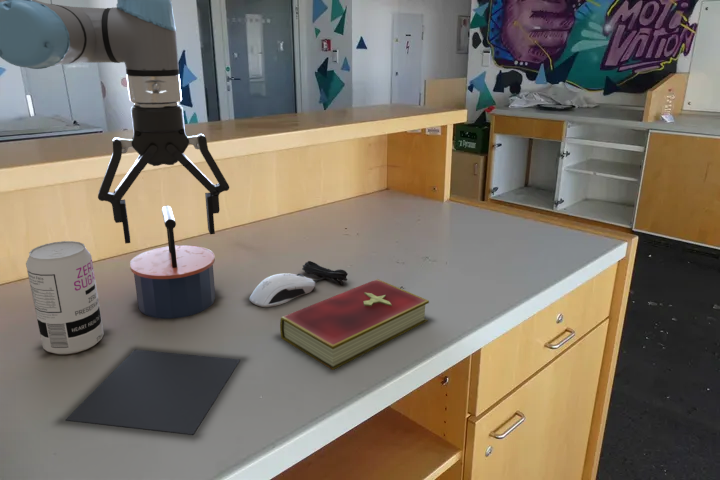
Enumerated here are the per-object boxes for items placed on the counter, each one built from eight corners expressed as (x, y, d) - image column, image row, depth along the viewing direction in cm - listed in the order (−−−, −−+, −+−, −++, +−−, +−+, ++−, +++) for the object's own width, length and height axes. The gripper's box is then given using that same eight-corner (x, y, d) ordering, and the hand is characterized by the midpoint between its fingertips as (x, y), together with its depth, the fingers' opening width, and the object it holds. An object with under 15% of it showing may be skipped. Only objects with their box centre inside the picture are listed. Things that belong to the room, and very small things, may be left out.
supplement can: (45, 335, 84) (27, 243, 79) (104, 325, 87) (90, 237, 82) (40, 362, 77) (19, 264, 72) (104, 351, 80) (89, 255, 75)
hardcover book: (280, 338, 85) (279, 314, 83) (375, 298, 99) (375, 276, 97) (332, 371, 77) (332, 345, 75) (427, 322, 91) (429, 299, 89)
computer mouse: (237, 297, 98) (236, 277, 96) (314, 270, 110) (314, 251, 109) (272, 317, 91) (271, 295, 90) (349, 285, 104) (350, 265, 102)
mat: (65, 422, 66) (65, 419, 65) (135, 351, 80) (134, 349, 80) (193, 437, 64) (193, 434, 63) (240, 361, 78) (240, 359, 78)
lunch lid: (131, 287, 85) (123, 229, 81) (130, 256, 97) (123, 204, 93) (220, 275, 90) (216, 220, 86) (209, 247, 101) (205, 197, 98)
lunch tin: (139, 325, 88) (134, 282, 85) (137, 293, 99) (132, 254, 96) (220, 312, 92) (216, 271, 90) (209, 283, 103) (206, 245, 101)
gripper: (63, 109, 76) (87, 252, 84) (242, 104, 85) (249, 235, 92) (68, 103, 83) (89, 237, 90) (233, 99, 92) (240, 221, 99)
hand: (170, 236), depth 91 cm, fingers open, 12 cm apart
